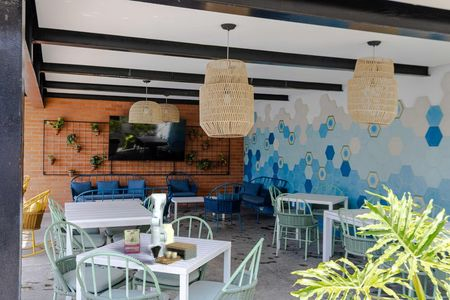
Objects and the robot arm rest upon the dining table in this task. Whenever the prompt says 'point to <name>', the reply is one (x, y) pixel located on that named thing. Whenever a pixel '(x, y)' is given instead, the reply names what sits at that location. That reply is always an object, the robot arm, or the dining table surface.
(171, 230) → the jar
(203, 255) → the dining table surface
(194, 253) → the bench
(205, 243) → the dining table surface
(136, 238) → the candy bar box
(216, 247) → the dining table surface
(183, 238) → the dining table surface
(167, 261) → the tray
